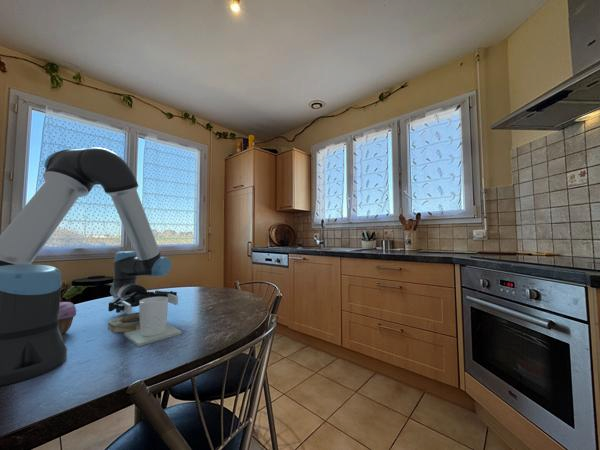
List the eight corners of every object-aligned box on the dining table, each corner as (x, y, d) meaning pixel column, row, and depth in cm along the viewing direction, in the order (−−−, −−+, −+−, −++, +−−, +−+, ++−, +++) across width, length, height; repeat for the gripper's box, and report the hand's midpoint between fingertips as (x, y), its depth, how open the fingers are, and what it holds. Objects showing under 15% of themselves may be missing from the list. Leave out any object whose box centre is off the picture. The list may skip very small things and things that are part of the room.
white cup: (157, 337, 73) (158, 303, 73) (131, 337, 73) (132, 302, 74) (172, 327, 81) (173, 296, 81) (148, 327, 81) (149, 296, 81)
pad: (181, 333, 78) (181, 331, 78) (137, 346, 68) (138, 343, 68) (165, 325, 85) (165, 322, 85) (124, 335, 76) (124, 333, 76)
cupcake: (28, 338, 74) (30, 304, 74) (62, 328, 82) (63, 298, 83) (49, 341, 72) (51, 306, 72) (82, 330, 80) (84, 299, 81)
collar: (150, 330, 81) (150, 324, 81) (99, 333, 78) (100, 326, 78) (166, 316, 95) (166, 311, 95) (124, 318, 92) (124, 313, 92)
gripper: (167, 298, 101) (192, 308, 88) (88, 312, 82) (104, 327, 69) (168, 280, 102) (193, 286, 88) (89, 289, 83) (106, 300, 69)
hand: (154, 304), depth 78 cm, fingers open, 13 cm apart
